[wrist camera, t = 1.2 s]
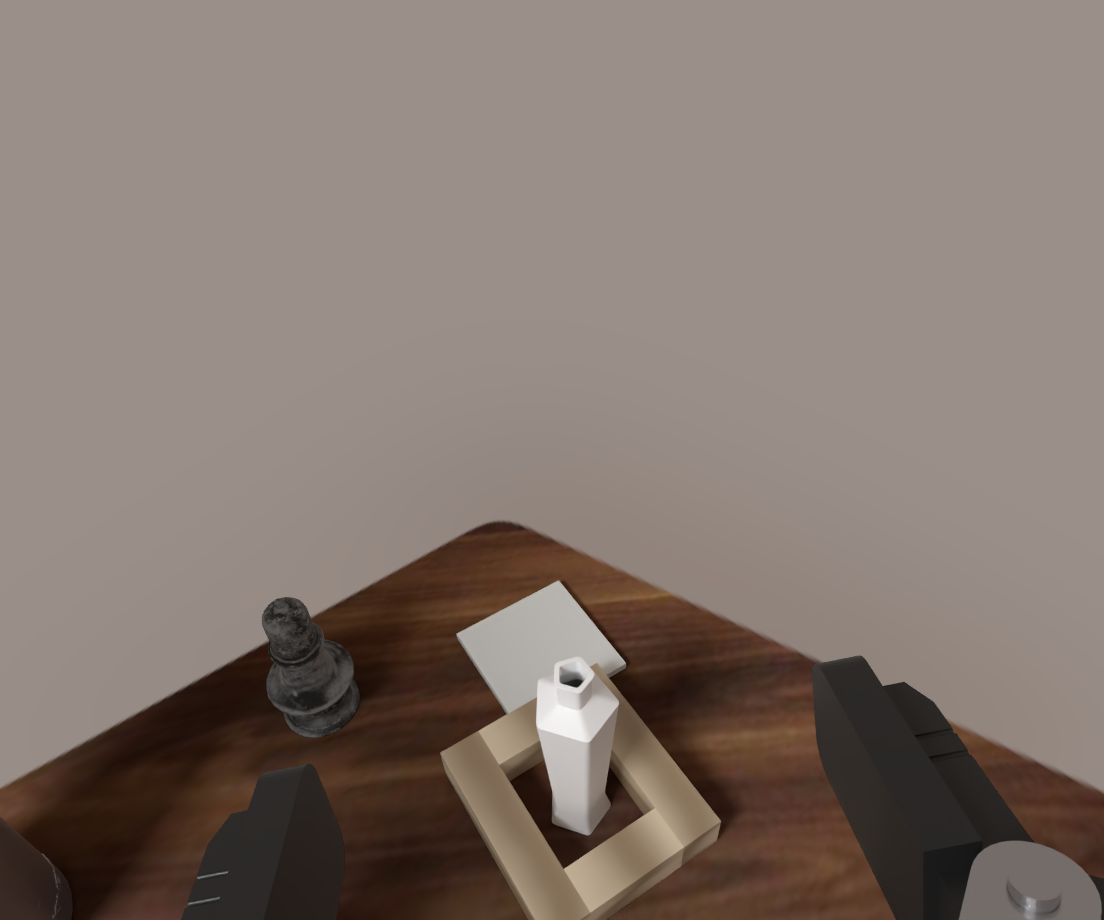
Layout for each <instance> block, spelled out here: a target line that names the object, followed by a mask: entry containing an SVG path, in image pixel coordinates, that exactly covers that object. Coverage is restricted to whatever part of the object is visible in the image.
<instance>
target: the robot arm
mask: <svg viewBox="0 0 1104 920" xmlns="http://www.w3.org/2000/svg"><path fill="white" fill-rule="evenodd" d="M812 681H813V695H814V710H815V725H816V738H817V745H818V750H819V754H820V758H821V761H822V764H823V767H824V770H825V773H826V775H827V778H828V780H829V782H830V784H831V786H832V788H833V790H834V792H835V794H836V797H837V799H838V801H839V803H840V805H841V807H842V809H843V811H844V813H845V815H846V817H847V819H848V821H849V823H850V825H851V828H852V830H853V832H854V834H855V836H856V838H857V840H858V842H859V844H860V846H861V848H862V850H863V852H864V854H865V856H866V859H867V861H868V863H869V865H870V867H871V869H872V871H873V873H874V875H875V877H876V879H877V881H878V883H879V885H880V887H881V890H882V892H883V894H884V896H885V898H886V900H887V902H888V904H889V906H890V908H891V910H892V912H893V914H894V916H895V918H896V920H1104V879H1103V878H1099V877H1095V876H1091V875H1088V874H1087V873H1086V872H1085V871H1084V870H1083V869H1082V868H1081V867H1080V866H1079V865H1077V864H1076V863H1075V862H1074V861H1073V860H1071V859H1070V858H1068V857H1066V856H1065V855H1063V854H1062V853H1060V852H1058V851H1056V850H1054V849H1052V848H1049V847H1046V846H1043V845H1040V844H1036V843H1035V842H1034V841H1033V840H1032V839H1031V838H1030V836H1029V835H1028V834H1027V833H1026V831H1025V830H1024V828H1023V827H1022V825H1021V824H1020V823H1019V821H1018V820H1017V818H1016V817H1015V816H1014V814H1013V813H1012V811H1011V810H1010V809H1009V807H1008V806H1007V804H1006V803H1005V802H1004V800H1003V799H1002V797H1001V796H1000V795H999V793H998V792H997V790H996V789H995V788H994V786H993V785H992V783H991V782H990V780H989V779H988V778H987V776H986V775H985V773H984V772H983V771H982V769H981V768H980V766H979V765H978V764H977V762H976V761H975V759H974V758H973V757H972V755H969V754H968V751H967V748H966V747H965V745H964V744H963V743H962V741H961V740H960V738H959V737H958V735H957V734H956V733H953V730H952V727H951V726H950V724H949V723H948V721H947V720H946V719H945V717H944V716H943V714H942V713H941V712H940V710H939V709H938V707H937V706H936V705H935V703H934V702H933V701H931V700H930V699H928V698H927V697H926V696H924V695H923V694H921V693H920V692H918V691H917V690H915V689H914V688H912V687H911V686H909V685H908V684H907V683H905V682H902V683H897V684H892V685H886V686H882V684H881V683H880V681H879V680H878V678H877V677H876V675H875V674H874V672H873V670H872V669H871V667H870V666H869V664H868V663H867V661H866V660H865V659H864V658H863V657H862V656H854V657H850V658H844V659H839V660H835V661H829V662H824V663H818V664H814V665H813V668H812ZM344 871H345V851H344V843H343V838H342V834H341V830H340V828H339V825H338V823H337V820H336V818H335V815H334V813H333V810H332V808H331V805H330V803H329V800H328V798H327V795H326V793H325V790H324V788H323V785H322V783H321V781H320V778H319V776H318V773H317V771H316V769H315V768H314V766H313V765H311V764H306V765H301V766H295V767H290V768H285V769H280V770H275V771H270V772H265V773H263V774H262V775H261V776H260V777H259V779H258V781H257V784H256V787H255V790H254V793H253V797H252V800H251V803H250V806H249V809H248V811H243V812H238V813H233V814H231V815H230V816H229V818H228V819H227V820H226V821H225V823H224V824H223V825H222V827H221V828H220V829H219V831H218V832H217V833H216V835H215V836H214V837H213V838H212V840H211V841H210V842H209V844H208V846H207V849H206V852H205V855H204V857H203V860H202V863H201V866H200V868H199V871H198V874H197V878H198V879H197V881H196V882H194V885H193V888H192V891H191V893H190V896H189V899H188V908H185V910H184V913H183V916H182V918H181V920H336V917H337V911H338V906H339V900H340V894H341V889H342V883H343V877H344ZM72 912H73V902H72V892H71V889H70V886H69V884H68V881H67V879H66V878H65V877H64V875H63V874H62V872H61V871H60V870H59V869H58V868H57V867H56V866H55V865H53V863H52V862H51V861H50V860H49V859H48V858H47V857H46V856H45V855H44V854H43V853H42V854H41V853H40V852H39V851H38V850H37V849H36V848H34V847H33V846H32V845H31V844H30V843H29V842H28V841H27V840H26V839H25V838H24V837H22V836H21V835H20V834H19V833H18V832H17V831H16V830H15V829H13V828H12V827H11V826H10V825H9V824H8V823H7V822H6V821H4V820H3V819H2V818H1V817H0V920H71V919H72Z"/></svg>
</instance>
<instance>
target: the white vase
mask: <svg viewBox="0 0 1104 920" xmlns="http://www.w3.org/2000/svg"><path fill="white" fill-rule="evenodd" d="M618 706H619V701H618V699H617V698H616V697H615V696H614V695H613V693H612V692H611V691H610V690H609V689H608V688H607V686H606V685H605V684H604V683H603V682H602V681H601V679H600V678H599V677H598V676H597V675H596V673H595V672H594V671H593V670H592V669H591V668H590V667H589V666H588V665H587V663H586V662H585V661H584V660H583V659H582V658H581V657H574V658H570V659H567V660H563V661H559V662H557V663H556V664H555V666H554V675H550V676H547V677H543V678H541V679H539V681H538V687H537V711H536V726H537V730H538V734H539V738H540V742H541V747H542V751H543V755H544V759H545V763H546V767H547V771H548V775H549V779H550V783H551V788H552V823H553V824H555V825H557V826H560V827H563V828H566V829H569V830H572V831H575V832H578V833H581V834H584V835H590V834H591V833H592V832H593V831H594V829H595V828H596V826H597V825H598V824H599V822H600V821H601V819H602V818H603V817H604V815H605V814H606V812H607V811H608V810H609V808H610V806H611V803H610V801H609V799H608V798H607V796H606V794H605V788H606V782H607V775H608V769H609V763H610V757H611V750H612V744H613V738H614V731H615V725H616V719H617V712H618Z"/></svg>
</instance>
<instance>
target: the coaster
mask: <svg viewBox="0 0 1104 920" xmlns="http://www.w3.org/2000/svg"><path fill="white" fill-rule="evenodd" d="M456 635H457V639H458V641H459V642H460V644H461V645H462V647H463V648H464V650H465V651H466V653H467V654H468V656H469V657H470V659H471V660H472V662H473V663H474V665H475V666H476V668H477V670H478V671H479V673H480V674H481V676H482V677H483V679H484V680H485V682H486V683H487V685H488V686H489V688H490V689H491V691H492V692H493V694H494V695H495V697H496V699H497V700H498V702H499V703H500V705H501V706H502V708H503V709H504V711H505V712H506V714H509V713H510V712H512V711H514V710H516V709H517V708H519V707H521V706H522V705H524V704H526V703H528V702H529V701H531V700H533V699H535V698H536V697H537V687H538V681H539V679H541V678H543V677H547V676H550V675H554V666H555V664H556V663H557V662H559V661H563V660H567V659H570V658H574V657H581V658H582V659H583V660H584V661H585V662H586V663H587V665H588V666H589V667H590V666H592V665H594V664H596V663H598V665H599V666H600V667H601V669H602V670H603V671H604V672H605V674H606V675H607V676H608V678H610V677H611V676H613V675H615V674H617V673H618V672H620V671H622V670H623V669H625V668H626V663H625V661H624V660H623V659H622V658H621V656H620V655H619V654H618V653H617V651H616V650H615V649H614V648H613V647H612V645H611V644H610V643H609V642H608V640H607V639H606V638H605V637H604V635H603V634H602V633H601V632H600V631H599V629H598V628H597V627H596V626H595V624H594V623H593V622H592V621H591V619H590V618H589V617H588V616H587V615H586V613H585V612H584V611H583V610H582V608H581V607H580V606H579V605H578V603H577V602H576V601H575V600H574V599H573V597H572V596H571V595H570V594H569V592H568V591H567V590H566V589H565V587H564V586H563V585H562V584H561V583H560V581H557V582H555V583H553V584H551V585H549V586H547V587H545V588H543V589H541V590H539V591H537V592H536V593H534V594H532V595H530V596H528V597H526V598H524V599H522V600H520V601H518V602H516V603H515V604H513V605H511V606H509V607H507V608H505V609H503V610H501V611H499V612H497V613H495V614H493V615H492V616H490V617H488V618H486V619H484V620H482V621H480V622H478V623H476V624H474V625H472V626H471V627H469V628H467V629H465V630H463V631H461V632H459V633H457V634H456Z"/></svg>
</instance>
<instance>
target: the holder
mask: <svg viewBox="0 0 1104 920" xmlns="http://www.w3.org/2000/svg"><path fill="white" fill-rule="evenodd" d="M590 668H591V669H592V670H593V671H594V672H595V673H596V675H597V676H598V677H599V678H600V679H601V681H602V682H603V683H604V684H605V685H606V686H607V688H608V689H609V690H610V691H611V692H612V693H613V695H614V696H615V697H616V698H617V699H618V701H619V706H618V712H617V719H616V725H615V731H614V738H613V744H612V750H611V757H610V763H609V767H610V768H611V770H612V771H613V772H614V774H615V775H616V777H617V778H618V779H619V781H620V782H621V784H622V785H623V786H624V788H625V789H626V790H627V792H628V793H629V795H630V796H631V797H632V799H633V800H634V802H635V803H636V804H637V806H638V807H639V809H640V810H641V811H642V813H643V814H644V816H642V817H641V818H639V819H638V820H636V821H635V822H633V823H632V824H630V825H629V826H627V827H626V828H624V829H623V830H621V831H620V832H618V833H617V834H615V835H614V836H612V837H611V838H609V839H608V840H606V841H605V842H603V843H602V844H600V845H599V846H597V847H596V848H594V849H593V850H591V851H590V852H588V853H587V854H585V855H584V856H582V857H581V858H579V859H578V860H576V861H575V862H574V863H572V864H571V865H569V866H568V867H566V868H565V869H563V867H562V866H561V864H560V863H559V861H558V859H557V858H556V856H555V855H554V853H553V851H552V850H551V848H550V846H549V845H548V843H547V842H546V840H545V838H544V837H543V835H542V833H541V832H540V830H539V829H538V827H537V825H536V824H535V822H534V820H533V819H532V817H531V816H530V814H529V812H528V811H527V809H526V808H525V806H524V804H523V803H522V801H521V799H520V798H519V796H518V795H517V793H516V791H515V790H514V788H513V786H512V785H511V783H510V782H509V781H511V780H512V779H514V778H516V777H517V776H519V775H521V774H522V773H524V772H526V771H527V770H529V769H531V768H532V767H534V766H535V765H537V764H539V763H540V762H542V761H544V760H545V759H544V755H543V751H542V747H541V742H540V738H539V734H538V730H537V726H536V711H537V697H536V698H535V699H533V700H531V701H529V702H528V703H526V704H524V705H522V706H521V707H519V708H517V709H516V710H514V711H512V712H510V713H509V714H507V715H505V716H503V717H502V718H500V719H498V720H496V721H495V722H493V723H491V724H489V725H488V726H486V727H484V728H482V729H481V730H479V731H477V732H476V733H474V734H472V735H470V736H469V737H467V738H465V739H463V740H462V741H460V742H458V743H456V744H455V745H453V746H451V747H449V748H448V749H446V750H444V751H442V752H441V753H440V754H441V758H442V761H443V765H444V769H445V772H446V775H447V777H448V778H449V780H450V782H451V784H452V786H453V787H454V789H455V791H456V793H457V794H458V796H459V798H460V800H461V801H462V803H463V805H464V807H465V809H466V810H467V812H468V814H469V816H470V817H471V819H472V821H473V823H474V825H475V826H476V828H477V830H478V832H479V833H480V835H481V837H482V839H483V841H484V842H485V844H486V846H487V848H488V849H489V851H490V853H491V855H492V857H493V858H494V860H495V862H496V864H497V865H498V867H499V869H500V871H501V873H502V874H503V876H504V878H505V880H506V881H507V883H508V885H509V887H510V889H511V890H512V892H513V894H514V896H515V897H516V899H517V901H518V903H519V905H520V906H521V908H522V910H523V912H524V913H525V915H526V917H527V919H528V920H606V919H608V918H609V917H610V916H612V915H613V914H615V913H616V912H617V911H619V910H620V909H622V908H623V907H625V906H626V905H627V904H629V903H630V902H632V901H633V900H634V899H636V898H637V897H639V896H640V895H641V894H643V893H644V892H646V891H647V890H648V889H650V888H651V887H653V886H654V885H656V884H657V883H658V882H660V881H661V880H663V879H664V878H665V877H667V876H668V875H670V874H671V873H672V872H674V871H675V870H677V869H678V868H680V867H681V866H682V865H684V864H685V863H687V862H688V861H689V860H691V859H692V858H694V857H695V856H696V855H698V854H699V853H701V852H702V851H704V850H705V849H706V848H708V847H709V846H711V845H712V844H713V843H715V842H716V841H717V838H718V833H719V828H720V824H721V821H720V819H719V818H718V817H717V816H716V814H715V813H714V812H713V810H712V809H711V808H710V807H709V805H708V804H707V803H706V801H705V800H704V799H703V798H702V796H701V795H700V794H699V793H698V791H697V790H696V789H695V787H694V786H693V785H692V784H691V782H690V781H689V780H688V778H687V777H686V776H685V775H684V773H683V772H682V771H681V770H680V768H679V767H678V766H677V764H676V763H675V762H674V761H673V759H672V758H671V757H670V755H669V754H668V753H667V752H666V750H665V749H664V748H663V747H662V745H661V744H660V743H659V741H658V740H657V739H656V738H655V736H654V735H653V734H652V732H651V731H650V730H649V729H648V727H647V726H646V725H645V724H644V722H643V721H642V720H641V718H640V717H639V716H638V715H637V713H636V712H635V711H634V709H633V708H632V707H631V706H630V704H629V703H628V702H627V701H626V699H625V698H624V697H623V695H622V694H621V693H620V692H619V690H618V689H617V688H616V686H615V685H614V684H613V683H612V681H611V680H610V679H609V678H608V676H607V675H606V674H605V672H604V671H603V670H602V669H601V667H600V666H599V665H598V663H596V664H594V665H592V666H590Z"/></svg>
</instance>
